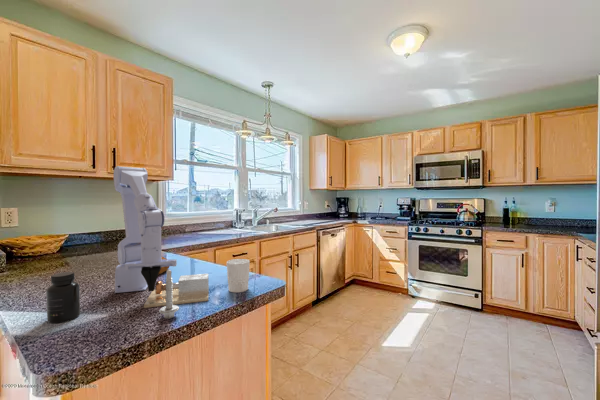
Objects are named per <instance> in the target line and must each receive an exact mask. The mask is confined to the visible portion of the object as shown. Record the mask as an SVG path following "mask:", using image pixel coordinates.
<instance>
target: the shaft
mask: <svg viewBox="0 0 600 400" xmlns="http://www.w3.org/2000/svg"><path fill="white" fill-rule="evenodd" d="M165 284H166V283H164V282H163V281H162V280H160V281H158V280H156V283H155V289H154V290H155V292H156V295H157V294H162V291H166V287H165V286H166V285H165ZM172 284H173V285H172V286H173V287H172V288H173V290H178V289H179V283H178V282H173V283H172Z"/></svg>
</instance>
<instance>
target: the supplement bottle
mask: <svg viewBox="0 0 600 400" xmlns="http://www.w3.org/2000/svg"><path fill="white" fill-rule="evenodd" d="M75 280H76V278H75V272H73V271H68V272H67V271H64V272H59V273H54V274H52V275H51V276H50V283H51V284H50V285H49V286H48V288H46V319H47V322H48V323H50V324H59V323H60V322H61V323H65V321H66V322H69V321H72V320H74V319H76V318H78V317H79V316H80V314H81V297H80V296H81V293H80V284H79V282H77V281H75ZM68 320H69V321H68Z"/></svg>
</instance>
